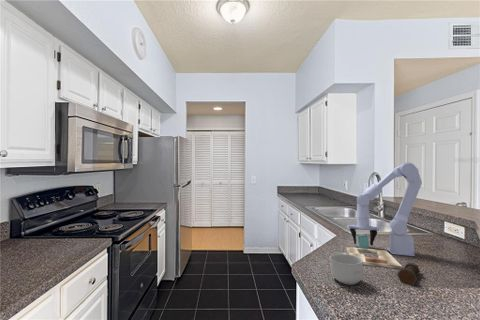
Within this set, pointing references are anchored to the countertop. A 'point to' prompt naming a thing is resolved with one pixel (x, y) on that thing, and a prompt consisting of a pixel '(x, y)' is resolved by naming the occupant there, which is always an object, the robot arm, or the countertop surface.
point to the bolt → (409, 274)
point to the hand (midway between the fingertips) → (363, 244)
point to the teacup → (346, 268)
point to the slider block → (363, 241)
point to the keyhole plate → (381, 261)
